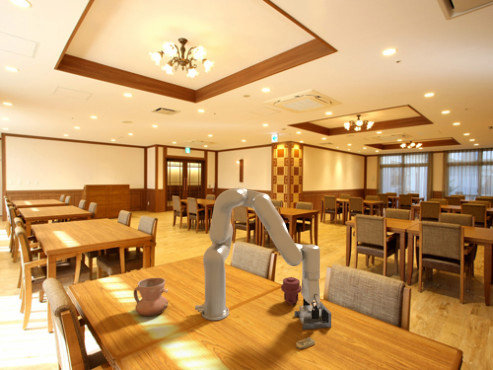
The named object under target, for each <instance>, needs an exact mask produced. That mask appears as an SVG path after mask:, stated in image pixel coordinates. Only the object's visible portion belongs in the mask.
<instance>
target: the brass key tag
mask: <svg viewBox="0 0 493 370" xmlns="http://www.w3.org/2000/svg"><path fill="white" fill-rule="evenodd" d="M314 345H316V341H315V340H314V339H312V338H311V337H310V336H308V337H306V338H303V339H300V340H297V341H296V342H295V346H296V349H298V350H304V349H307V348H309V347H312V346H314Z"/></svg>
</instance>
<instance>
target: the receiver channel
mask: <svg viewBox="0 0 493 370" xmlns="http://www.w3.org/2000/svg"><path fill="white" fill-rule="evenodd" d="M320 303H321V305H320V309H321V313H322V317H321V322H313V323H302V322H301V324H302V327H301V328H302V330H303V331H304V330H314V329H327V328H332V312H331V311H330V310H329V308H327V307H326V305H325V304H324V303H323V302H322V300H320ZM293 316H294V317H295V318H297V317H299V318H300V310H296V311H295V310H294V315H293Z"/></svg>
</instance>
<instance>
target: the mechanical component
mask: <svg viewBox="0 0 493 370" xmlns="http://www.w3.org/2000/svg"><path fill="white" fill-rule="evenodd" d="M300 284H301V281H300V279H298V278H296V277H294V276H289V277H285V278H283V279H282V284H281V292H283V300H284V301H285V302H287V303H288V304H289V306H293V305H294V304H296V303H297V302H298V301H299V294H300V293H301V289H302V285H300Z"/></svg>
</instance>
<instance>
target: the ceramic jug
mask: <svg viewBox="0 0 493 370" xmlns="http://www.w3.org/2000/svg"><path fill="white" fill-rule="evenodd" d="M165 286H166V279H165V278H163V277H148V278H144V279H141V280H139V281H138V283H137V286H136V287H135V288H134V289H133V298H134V300H135V302H136V305H135V312H136V313H137V314H138V315H140V316H144V317H152V316H156V315H159V314H161V313H163V312H164V311H165V310H166V309H167V308H168V306H169V300H168V299H167V297H165V296H164V295H163V293H165V294H167V293H168V292H169V289H168V288H165ZM138 292H139V294H140V296H141V299H140V298H139V296H138Z"/></svg>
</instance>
